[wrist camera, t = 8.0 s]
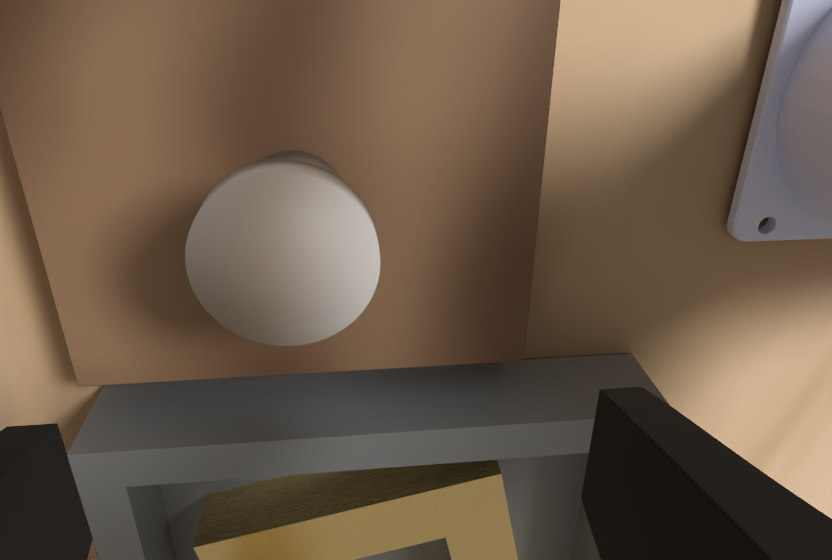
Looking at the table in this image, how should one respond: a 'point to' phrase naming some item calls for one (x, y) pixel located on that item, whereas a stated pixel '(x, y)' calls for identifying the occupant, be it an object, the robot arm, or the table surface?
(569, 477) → the tray
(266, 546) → the ring
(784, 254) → the table surface
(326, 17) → the stake base
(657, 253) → the table surface
